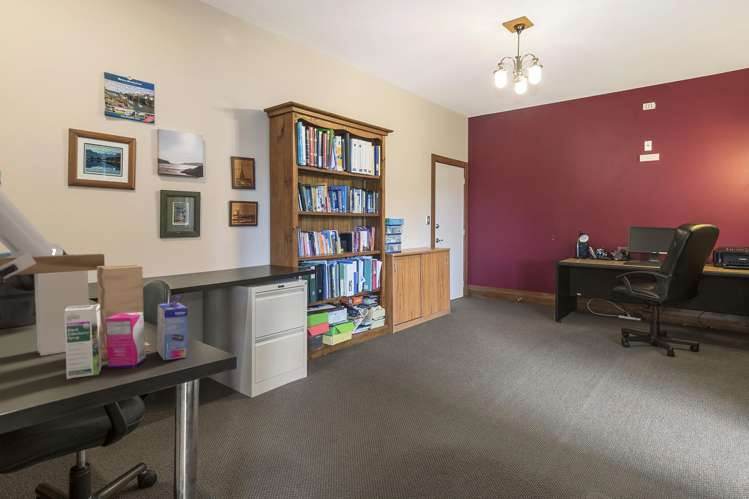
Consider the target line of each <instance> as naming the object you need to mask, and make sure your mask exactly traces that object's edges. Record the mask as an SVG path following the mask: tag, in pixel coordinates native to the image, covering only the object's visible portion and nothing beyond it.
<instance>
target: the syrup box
mask: <svg viewBox="0 0 749 499" xmlns="http://www.w3.org/2000/svg"><path fill="white" fill-rule="evenodd" d="M64 327H65V344H66V352H65V365H66V366H65V369H66V370H65V374H66V376H65V377H66V380H70V379H73V378H74V379H75V378H83V377H84V378H85V377H90V376H91V377H92V376H99V374H100V372H101V369H102V366H103V359H102V353H101V325H100V304H98V303H97V304H89V305H85V306H70V307H67V308H66V309H65V311H64Z"/></svg>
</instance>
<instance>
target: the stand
mask: <svg viewBox="0 0 749 499" xmlns="http://www.w3.org/2000/svg"><path fill="white" fill-rule="evenodd" d="M143 278H144V277H143V266H141V265H138V264H131V263H130V264H116V265H114V264H112V265H105V266H97V270H96V282H97V283H96V284H97V287H96V288H97V304H100V325H101V353H102V360H103V361H105V360H108V356H107V339H106V323H105V319H106V318H109V317H111V316H113V315H116V314H118V313H138V312H143V320H144V319H145V318H144V315H145V314H144V284H143V282H144V281H143V280H144V279H143ZM144 321H145V320H144ZM150 351H151V344H150V343H148V342H147V341H145V353H146V352H150Z"/></svg>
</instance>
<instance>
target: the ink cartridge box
mask: <svg viewBox="0 0 749 499" xmlns="http://www.w3.org/2000/svg"><path fill="white" fill-rule="evenodd" d="M180 298H181V296H180V295H179V294H176V295H175V297H174V298H173V300H172V302H167V303H166V302H165V303H159V304H157V332H156V333H157V338H156V340H157V342H156V344H157V345H156V346H157V349H156V350H157V352H158V354H159V356H160V357H161V359H163V361H172V360H178V359H187V358H188V310H189V309H188V307H186V306H185V305H183V304H182V303H181V302H179V301H180Z"/></svg>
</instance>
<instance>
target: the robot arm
mask: <svg viewBox="0 0 749 499" xmlns="http://www.w3.org/2000/svg"><path fill="white" fill-rule="evenodd" d="M1 179H2V171H0V242H1V244H2V245H3V246H4V247H5V248H7V249H8V250H9V251H7V252H0V258H5V257H19V258H17V259H15V260H13V261H11V262H9V263H7V264H5V265H3V266H1V267H0V329H7V328H10V329H11V328H17V327H24V326H25V327H26V326H29V325H35V324H36V302H35V279H34V274H26V275H14V274H16V273H18V272H20V271H22V270H24V269H26V268H28V267H30V266H32V265H34V264H36V262H35V261H34V259H33V258H32V257H31V256H56V255H76V254H74V253H71V254H69V253H67V252H66V251H65V249H63V248H62V247H61V246H60V245H59V244H56V243H50V242H49V240H47V239H46V237H45V236H44V235H43V234H42V233H41V232H40V231H39V230H38V229H37V228H36V227H35V225H34V224H33V223H32V222H31V221H30V220H29V219H28V218H27V217H26V216H25V215H24V214H23V213H22V212H21V210H20V209H19V208H18V207H17V206H16V205H15V204H14V203H13V201H11V199H10V198H9V197H8V196H7V195H6V194H5V193H4V191H2V189H1V187H2V184H3V183H2V180H1Z"/></svg>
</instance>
